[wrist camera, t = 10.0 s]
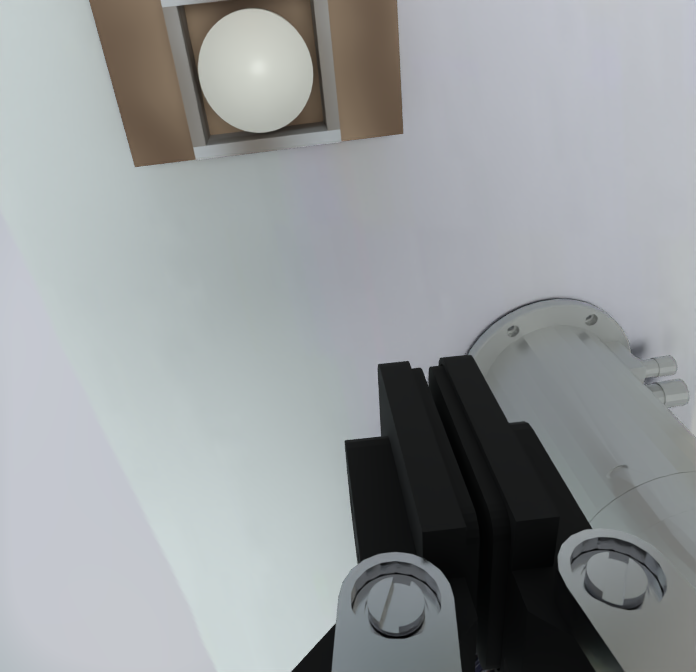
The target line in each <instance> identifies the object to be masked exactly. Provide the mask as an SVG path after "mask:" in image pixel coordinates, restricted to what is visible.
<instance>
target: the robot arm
mask: <svg viewBox="0 0 696 672" xmlns="http://www.w3.org/2000/svg"><path fill="white" fill-rule="evenodd" d="M676 371H677V364H676V361H675V359H674V358H673V357H672V356H670V355H669V356H662V357H655V358H651V359H648V360H641V359H640V358H637V357H635V356H634V355H633V354H632V353H631V350H630V346H629V341H628V339H627V337H626V335H625V333H624V331H623V329H622V328H621V327H620V326H619V325H618V324H617V323H616V322H615V321H614V319H613V318H611V317H610V316H609V315H608V314H607V313H605V312H604V311H603V310H602V309H600V308H598V307H596V306H593V305H591V304H589V303H586V302H582V301H577V300H571V299H554V300H547V301H540V302H537V303H533V304H530V305H527V306H524V307H522V308H520V309H518V310H516V311H514V312H512V313H509V314H507V315H506V316H504V317H503V318H502V319H500V320H499V321H497V322H496V323H495V324H493V325H492V326H491V327H490V328H489V329H488V330H487V331H486V332H485V333H484V334H483V335H482V336H480V338H479V339H478V340H477V342H476V343H475V344H474V346H473V347H472V348H471V350H470V351H469V353H468V355H463V356H453V357H443V358H440V360H439V366H433V367H430V368H429V387H428V384H427V381H426V379H425V376H424V373H423V371H422V369H421V368H414V369H411V366H410V363H409V361H404V362H395V363H385V364H378V385H379V404H380V422H381V437H373V438H363V439H354V440H345V452H346V463H347V474H348V484H349V494H350V504H351V513H352V521H353V530H354V538H355V546H356V554H357V562H358V565H357V566H355V567H354V568H353V569H351V571H350V572H349V574H348V575H347V577H346V578H345V579H344V581H343V582H342V586H341V590H340V593H339V597H338V607H337V618H336V624H335V625H334V626H333V627H332V628H331V629H330V630H329V631H328V632H327V633H326V635H325V636H324V637H323V638H322V639H321V640H320V641H319V642H318V643H317V644H316V645H315V647H314V648H313V649H312V650H311V651H310V652H309V653H308V654H307V655H306V656H305V657H304V658H303V660H302V661H301V662H300V663H299V664H298V665H297V666H296V667H295V668H294V669H293V670H292V672H475V662H476V652H477V655H478V659H479V662H480V665H481V667H482V669H483V670H490V669H494V671H495V672H696V437H695V436H694V435H693V434H692V433H691V432H690V431H689V430H688V429H687V428H686V427H685V426H684V425H683V424H682V423H681V422H680V421H679V420H678V419H677V417H676V416H675V415H674V414H673V413H672V412H671V411H670V410H669V409H668V408H670V407H676V406H683V405H686V404H687V403H688V401H689V391H688V388H687V385H686V384H685V383H684V381H682V380H681V379H675V380H668V381H661V382H655V383H653V384H649V385H644V380H645V378H649V377H662V376H669V375H674V374H675V373H676Z"/></svg>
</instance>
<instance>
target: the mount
mask: <svg viewBox="0 0 696 672" xmlns="http://www.w3.org/2000/svg"><path fill="white" fill-rule="evenodd" d="M89 1H90V5H91V9H92V12H93V16H94V20H95V23H96V27H97V31H98V34H99V38H100V41H101V45H102V49H103V52H104V56H105V60H106V63H107V67H108V70H109V74H110V78H111V81H112V85H113V89H114V92H115V96H116V100H117V103H118V107H119V110H120V114H121V118H122V121H123V125H124V129H125V132H126V136H127V140H128V143H129V147H130V150H131V154H132V158H133V161H134V165H135V167H140V166H148V165H156V164H164V163H172V162H180V161H188V160H202V159H210V158H218V157H226V156H234V155H242V154H250V153H259V152H267V151H275V150H283V149H291V148H299V147H307V146H315V145H323V144H331V143H339V142H341V141H349V140H357V139H365V138H373V137H381V136H389V135H397V134H403V119H402V98H401V77H400V56H399V34H398V13H397V0H89ZM246 8H261V9H266V10H270V11H272V12H274V13H277V14H278V15H280V16H282V17H283V18H284V19H286V20H287V21H288V22H289V23H290V24H291V25H292V26H293V27H294V28H295V29H296V30H297V32H298V33H299V34H300V35H301V37H302V38H303V40H304V42H305V44H306V46H307V48H308V50H309V53H310V57H311V60H312V66H313V84H312V89H311V93H310V96H309V99H308V101H307V103H306V105H305V107H304V108H303V110H302V111H301V112H300V114H299V115H298V116H297V117H296V118H295V119H294V120H293V121H292V122H290V123H289V124H287V125H286V126H284V127H282V128H280V129H277V130H274V131H270V132H264V133H255V132H248V131H244V130H241V129H238V128H236V127H234V126H232V125H230V124H229V123H227V122H226V121H224V120H223V119H222V118H221V117H220V116H218V115H217V113H216V112H215V111H214V110H213V109H212V107H211V106H210V105H209V103H208V101H207V100H206V98H205V96H204V93H203V91H202V88H201V85H200V81H199V74H198V60H199V53H200V49H201V46H202V44H203V41H204V39H205V37H206V35H207V33H208V32H209V31H210V29H211V28H212V27H213V26H214V25H215V24H216V23H217V22H218V21H219V20H221V19H222V18H223V17H225V16H227V15H229V14H230V13H233V12H235V11H238V10H241V9H246Z"/></svg>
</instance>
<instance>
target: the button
mask: <svg viewBox="0 0 696 672" xmlns="http://www.w3.org/2000/svg"><path fill="white" fill-rule="evenodd" d="M198 74H199V81H200V85H201V88H202V91H203V93H204V96H205V98H206V100H207V101H208V103H209V105H210V106H211V107H212V109H213V110H214V111H215V112H216V113H217V115H218V116H220V117H221V118H222V119H223V120H224V121H226V122H227V123H229V124H230V125H232V126H234V127H236V128H238V129H241V130H244V131H248V132H255V133H264V132H270V131H274V130H277V129H280V128H282V127H284V126H286V125H287V124H289V123H290V122H292V121H293V120H294V119H295V118H296V117H297V116H298V115H299V114H300V112H301V111H302V110H303V108H304V107H305V105H306V103H307V101H308V99H309V96H310V93H311V89H312V84H313V66H312V60H311V57H310V53H309V50H308V48H307V46H306V44H305V42H304V40H303V38H302V37H301V35H300V34H299V33H298V32H297V30H296V29H295V28H294V27H293V26H292V25H291V24H290V23H289V22H288V21H287V20H286V19H284V18H283V17H282V16H280V15H278V14H277V13H274V12H272V11H270V10H266V9H261V8H246V9H241V10H238V11H235V12H233V13H230V14H229V15H227V16H225V17H223V18H222V19H221V20H219V21H218V22H217V23H216V24H215V25H214V26H213V27H212V28H211V29H210V31H209V32H208V33H207V35H206V37H205V39H204V41H203V44H202V46H201V49H200V53H199V60H198Z"/></svg>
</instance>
